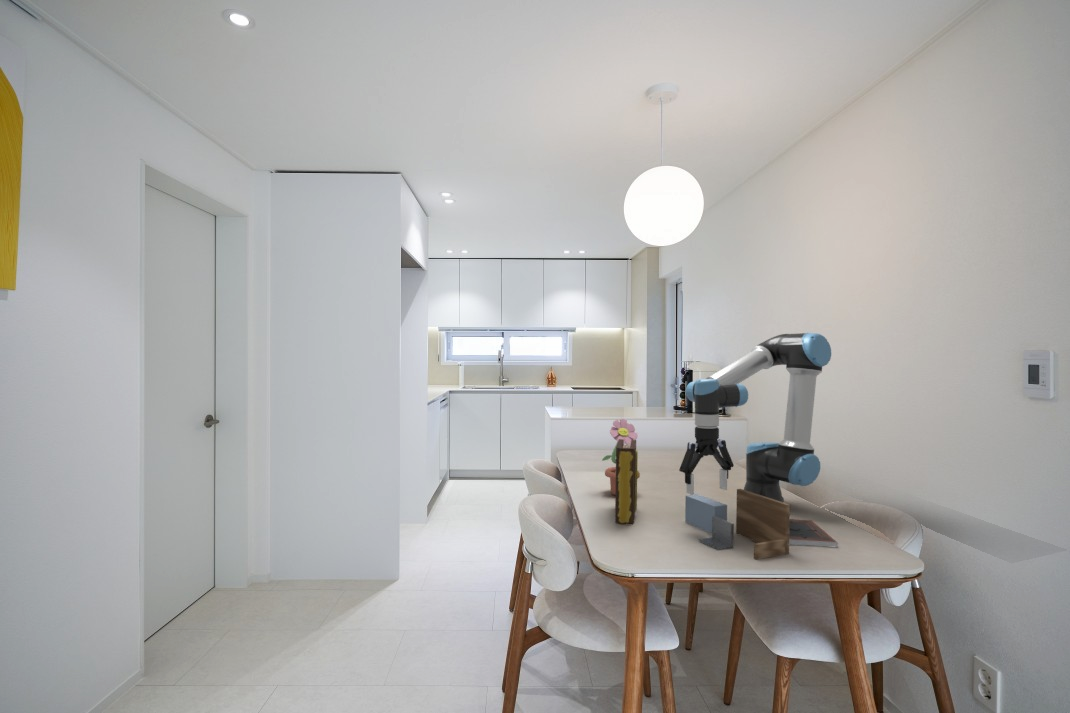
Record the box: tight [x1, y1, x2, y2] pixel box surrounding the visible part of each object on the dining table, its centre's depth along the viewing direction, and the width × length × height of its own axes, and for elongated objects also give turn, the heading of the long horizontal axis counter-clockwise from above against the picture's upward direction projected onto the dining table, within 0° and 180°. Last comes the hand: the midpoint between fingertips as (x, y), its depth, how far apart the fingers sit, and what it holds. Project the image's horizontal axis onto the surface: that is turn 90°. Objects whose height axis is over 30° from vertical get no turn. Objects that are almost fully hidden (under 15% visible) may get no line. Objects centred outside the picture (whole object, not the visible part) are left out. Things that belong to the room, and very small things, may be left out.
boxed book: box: [684, 493, 728, 535], centre depth 179 cm, size 5×14×9 cm, turn 23°
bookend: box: [698, 516, 735, 551], centre depth 162 cm, size 6×8×7 cm
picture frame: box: [789, 518, 838, 548], centre depth 173 cm, size 16×2×22 cm
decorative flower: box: [601, 418, 641, 496], centre depth 218 cm, size 15×14×30 cm
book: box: [614, 439, 640, 525], centre depth 191 cm, size 22×8×25 cm, turn 168°
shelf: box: [735, 488, 791, 560], centre depth 162 cm, size 12×19×14 cm, turn 23°
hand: (707, 491), depth 179 cm, fingers open, 13 cm apart
